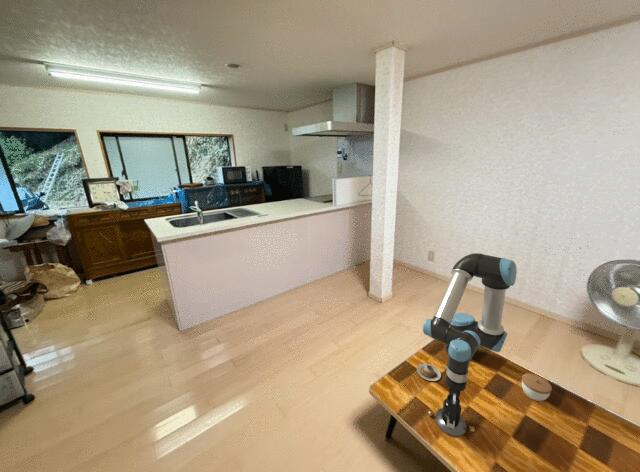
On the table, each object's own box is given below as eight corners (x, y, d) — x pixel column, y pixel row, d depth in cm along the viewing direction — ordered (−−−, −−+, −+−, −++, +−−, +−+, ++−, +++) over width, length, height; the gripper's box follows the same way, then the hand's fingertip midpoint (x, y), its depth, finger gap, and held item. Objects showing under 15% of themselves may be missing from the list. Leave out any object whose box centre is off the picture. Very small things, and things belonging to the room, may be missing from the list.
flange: (429, 403, 120) (429, 400, 120) (473, 419, 112) (474, 417, 112) (426, 425, 110) (426, 422, 110) (474, 445, 102) (475, 442, 102)
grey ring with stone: (412, 373, 138) (413, 366, 137) (423, 361, 146) (423, 354, 144) (434, 386, 129) (435, 379, 128) (444, 373, 137) (445, 366, 136)
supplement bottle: (443, 426, 108) (446, 404, 105) (439, 411, 115) (442, 390, 111) (461, 429, 107) (464, 407, 104) (456, 413, 113) (459, 392, 110)
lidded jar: (525, 402, 119) (528, 386, 116) (515, 383, 129) (519, 368, 126) (553, 408, 116) (557, 391, 113) (541, 388, 125) (545, 373, 123)
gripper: (447, 357, 114) (442, 397, 121) (444, 391, 98) (439, 436, 104) (466, 362, 111) (460, 404, 117) (467, 399, 94) (460, 445, 101)
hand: (450, 419), depth 111 cm, fingers closed on supplement bottle, 7 cm apart
